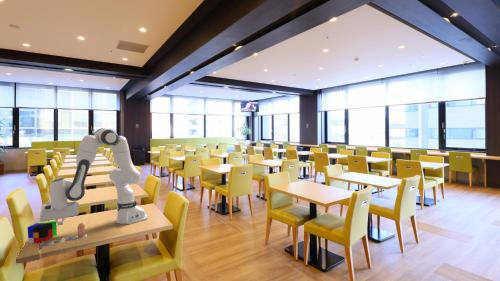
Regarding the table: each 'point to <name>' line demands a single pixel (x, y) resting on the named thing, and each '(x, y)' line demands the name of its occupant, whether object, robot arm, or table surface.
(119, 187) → the robot arm
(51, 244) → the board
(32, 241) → the puzzle toy
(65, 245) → the table surface
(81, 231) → the pawn
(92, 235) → the table surface
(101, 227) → the table surface
